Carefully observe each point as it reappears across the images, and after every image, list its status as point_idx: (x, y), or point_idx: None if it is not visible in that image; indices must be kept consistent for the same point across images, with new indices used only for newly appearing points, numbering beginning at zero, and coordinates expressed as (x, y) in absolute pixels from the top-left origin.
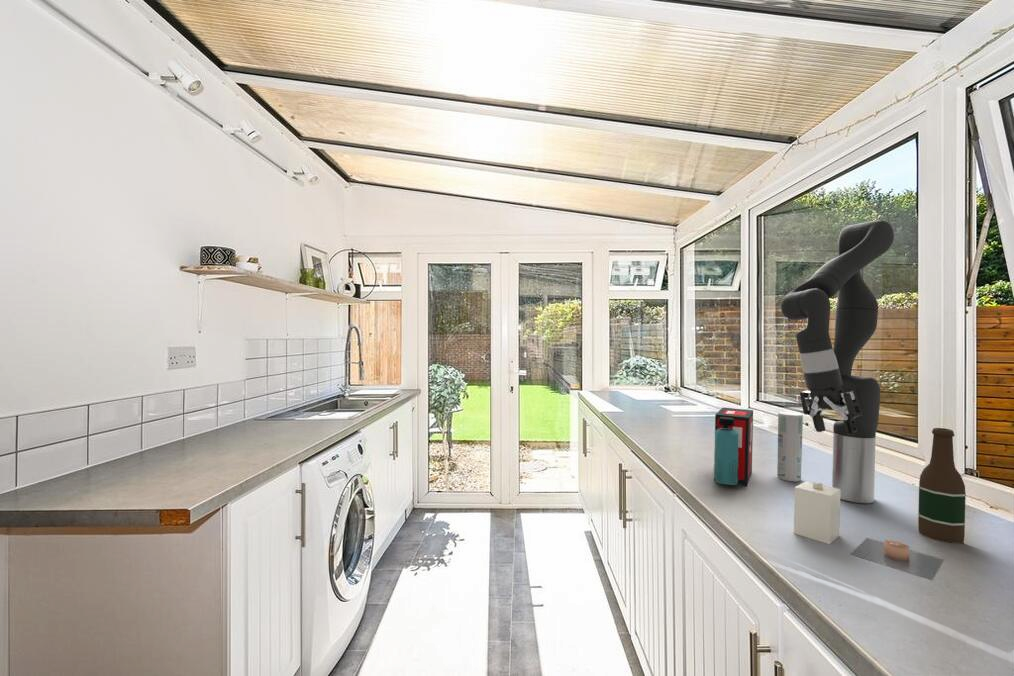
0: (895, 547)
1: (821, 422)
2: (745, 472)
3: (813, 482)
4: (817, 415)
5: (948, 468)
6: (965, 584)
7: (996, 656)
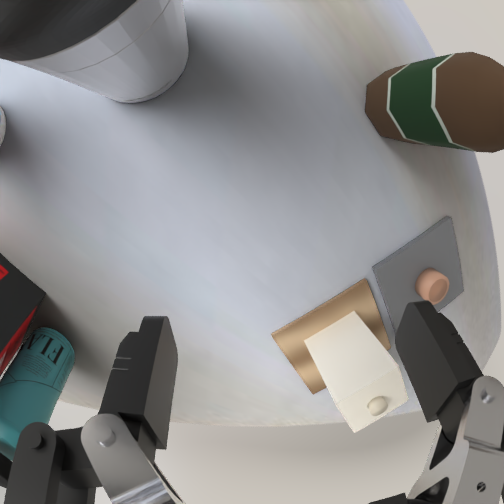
0: (440, 300)
1: (161, 383)
2: (29, 314)
3: (371, 413)
4: (149, 450)
5: None
6: (473, 247)
7: (498, 331)
